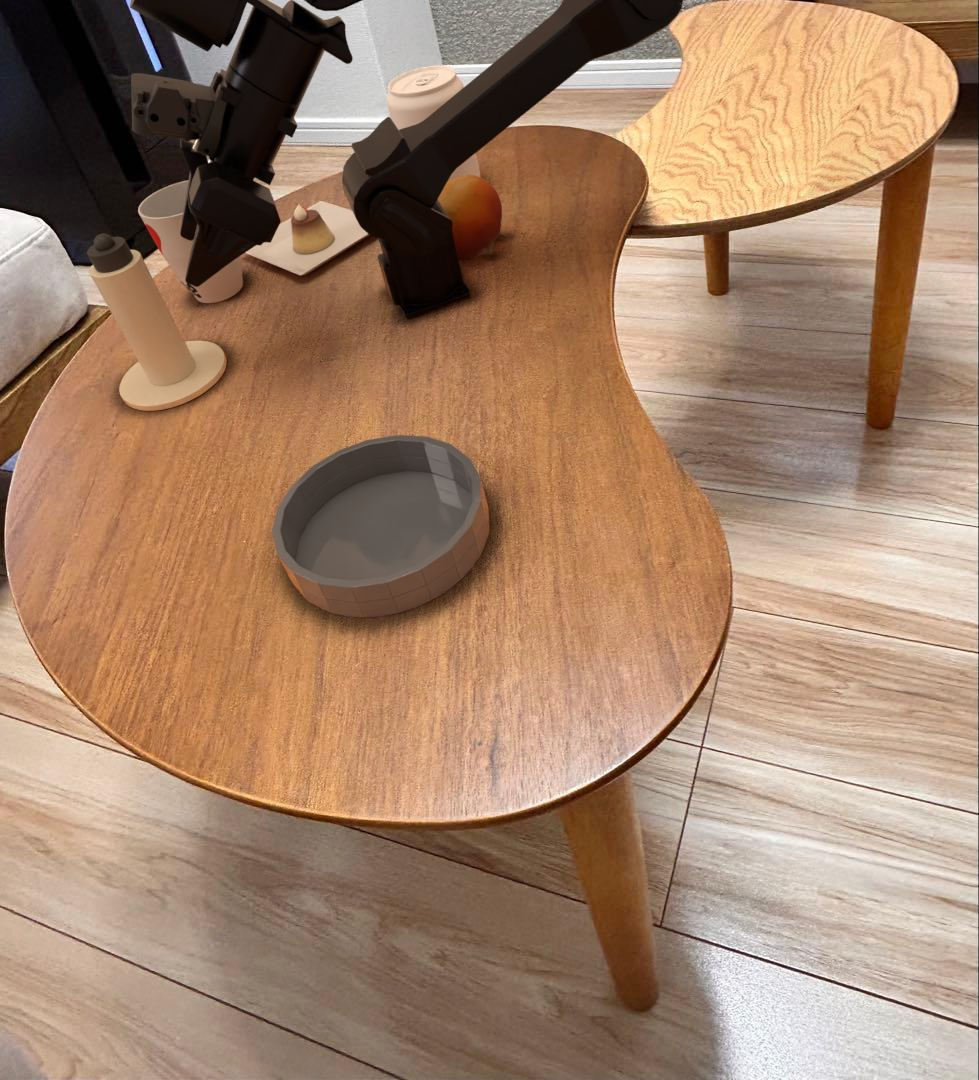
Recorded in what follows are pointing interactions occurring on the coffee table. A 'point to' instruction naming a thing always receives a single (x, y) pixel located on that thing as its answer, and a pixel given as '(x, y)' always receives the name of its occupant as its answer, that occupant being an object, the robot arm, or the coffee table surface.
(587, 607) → the coffee table surface
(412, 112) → the beverage can
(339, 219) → the dessert
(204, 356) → the tile coaster
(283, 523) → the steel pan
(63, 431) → the coffee table surface
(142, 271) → the pepper mill
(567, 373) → the coffee table surface
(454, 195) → the fruit
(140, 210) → the cup
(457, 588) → the coffee table surface
